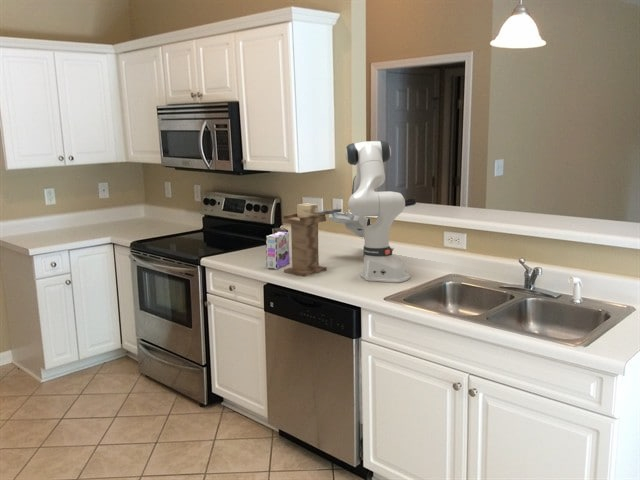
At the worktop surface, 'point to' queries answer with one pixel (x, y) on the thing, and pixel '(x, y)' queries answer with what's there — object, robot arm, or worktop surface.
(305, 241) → the walnut stand
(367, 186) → the robot arm
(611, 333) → the worktop surface
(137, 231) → the worktop surface
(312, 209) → the beech block
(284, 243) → the candy box
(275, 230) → the coffee box
